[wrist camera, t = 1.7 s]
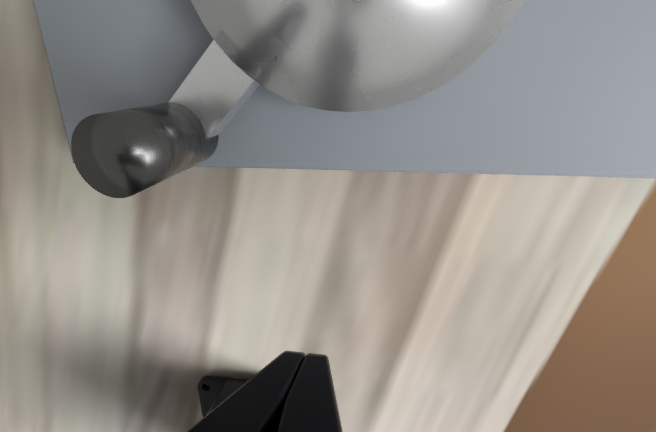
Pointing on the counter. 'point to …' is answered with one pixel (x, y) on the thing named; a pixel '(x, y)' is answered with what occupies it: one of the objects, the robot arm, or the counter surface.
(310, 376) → the robot arm
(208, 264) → the counter surface
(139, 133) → the silver round handled piece
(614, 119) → the slate board
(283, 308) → the counter surface
